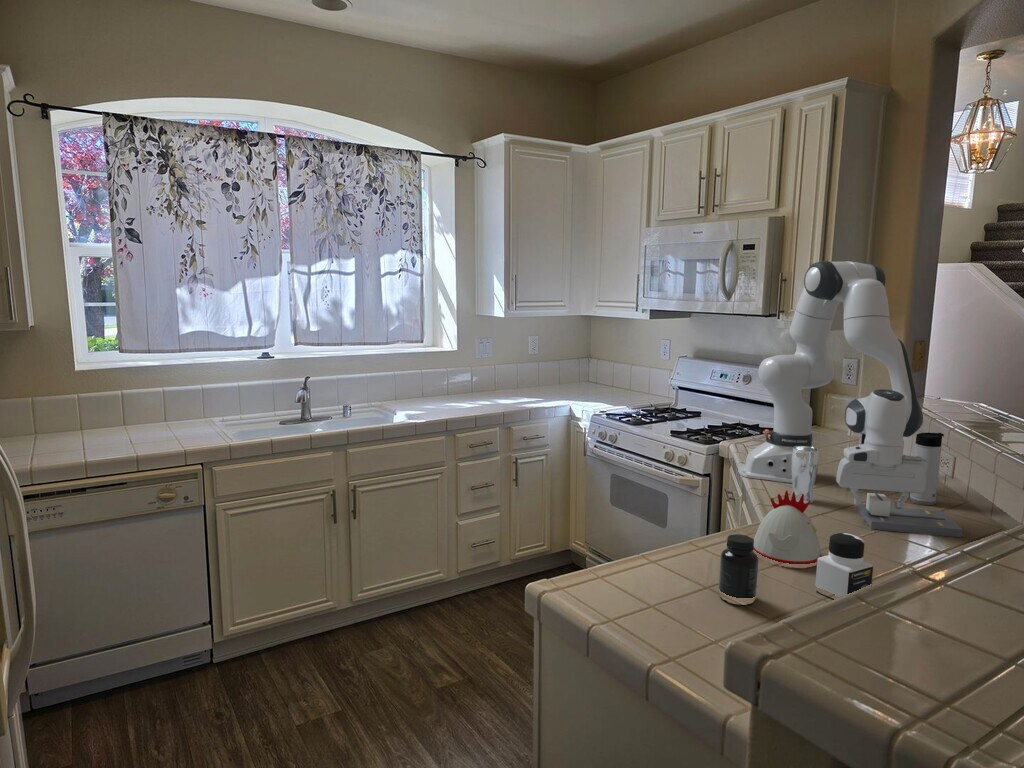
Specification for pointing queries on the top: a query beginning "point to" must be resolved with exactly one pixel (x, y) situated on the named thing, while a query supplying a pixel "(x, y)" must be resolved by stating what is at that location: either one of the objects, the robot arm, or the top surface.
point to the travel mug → (930, 451)
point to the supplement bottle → (739, 567)
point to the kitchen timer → (788, 533)
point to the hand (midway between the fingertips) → (877, 506)
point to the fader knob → (878, 504)
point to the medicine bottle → (843, 566)
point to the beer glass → (804, 471)
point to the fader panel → (912, 521)
